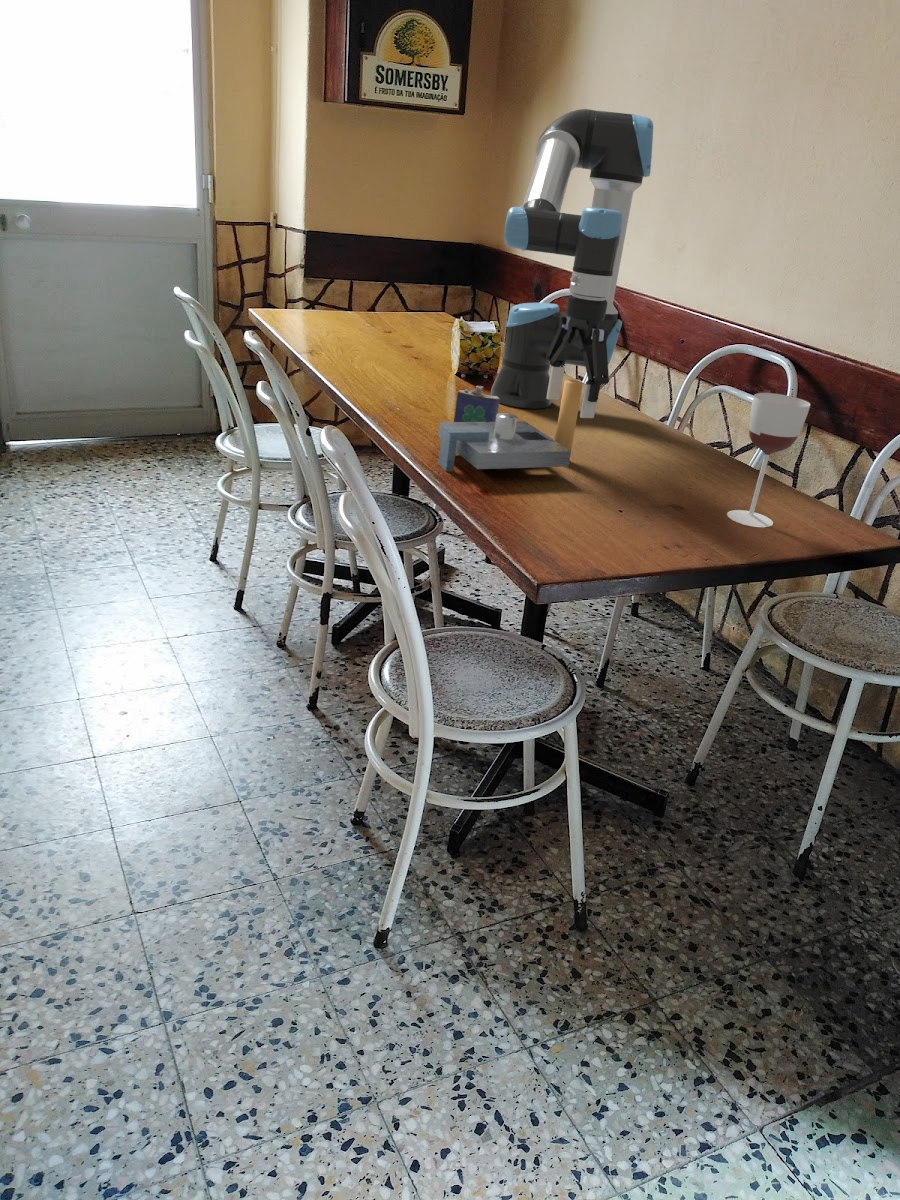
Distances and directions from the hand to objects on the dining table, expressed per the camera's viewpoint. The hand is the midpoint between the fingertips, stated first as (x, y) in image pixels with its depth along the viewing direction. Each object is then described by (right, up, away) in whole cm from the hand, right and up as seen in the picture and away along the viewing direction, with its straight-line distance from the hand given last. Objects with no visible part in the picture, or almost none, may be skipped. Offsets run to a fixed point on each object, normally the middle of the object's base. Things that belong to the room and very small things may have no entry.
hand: (569, 408), depth 183 cm
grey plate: (-15, -12, -3) cm, 20 cm away
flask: (-19, -3, +14) cm, 24 cm away
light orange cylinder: (-1, -10, +5) cm, 11 cm away
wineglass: (+31, -23, -14) cm, 41 cm away
